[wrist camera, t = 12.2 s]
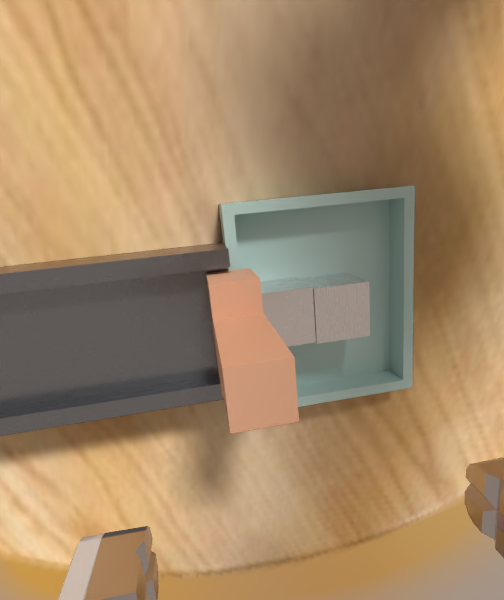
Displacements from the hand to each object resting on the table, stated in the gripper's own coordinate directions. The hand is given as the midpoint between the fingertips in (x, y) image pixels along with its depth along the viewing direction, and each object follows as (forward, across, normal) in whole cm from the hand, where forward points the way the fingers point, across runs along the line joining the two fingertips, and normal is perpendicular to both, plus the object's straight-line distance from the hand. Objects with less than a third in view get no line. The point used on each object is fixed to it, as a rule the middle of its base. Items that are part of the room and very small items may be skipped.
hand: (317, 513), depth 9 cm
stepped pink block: (+17, 0, 0) cm, 18 cm away
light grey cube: (+20, -3, 0) cm, 21 cm away
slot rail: (+21, +10, 0) cm, 23 cm away
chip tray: (+21, -7, 0) cm, 22 cm away
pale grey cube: (+18, -5, +1) cm, 19 cm away
